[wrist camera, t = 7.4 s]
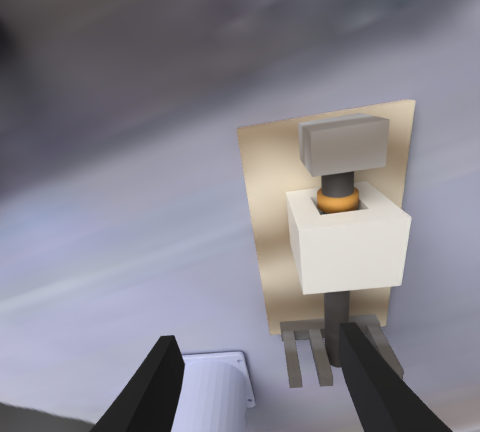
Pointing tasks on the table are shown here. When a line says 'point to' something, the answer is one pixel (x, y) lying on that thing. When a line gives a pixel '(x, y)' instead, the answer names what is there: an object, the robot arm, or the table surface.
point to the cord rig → (328, 201)
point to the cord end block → (347, 242)
